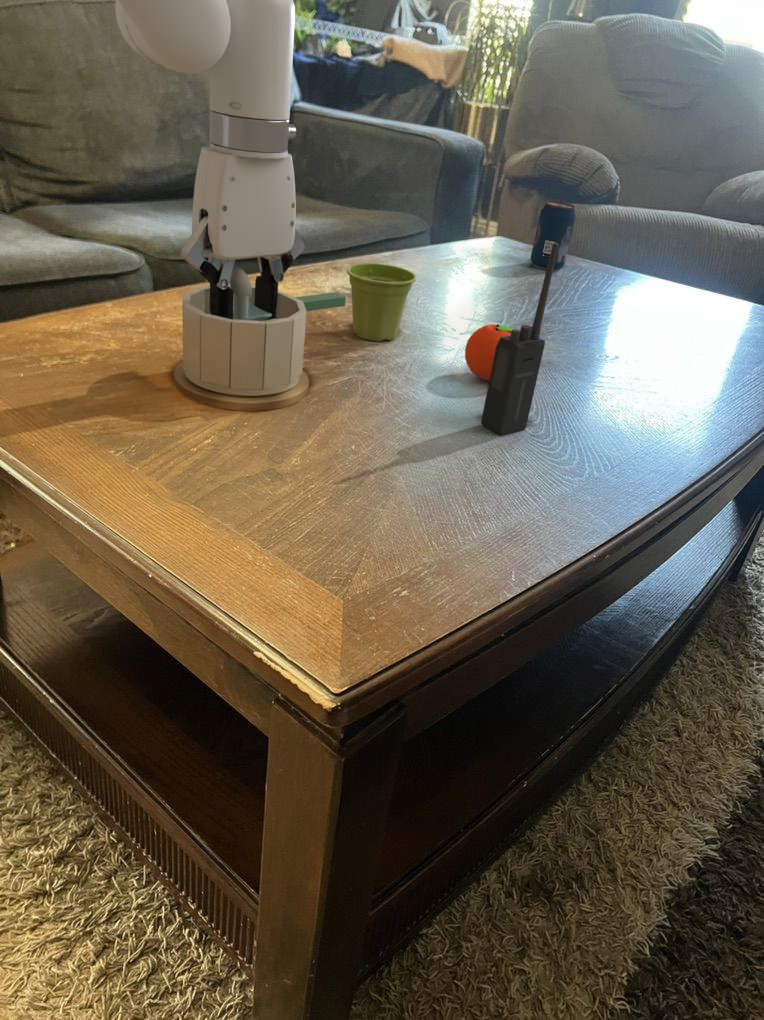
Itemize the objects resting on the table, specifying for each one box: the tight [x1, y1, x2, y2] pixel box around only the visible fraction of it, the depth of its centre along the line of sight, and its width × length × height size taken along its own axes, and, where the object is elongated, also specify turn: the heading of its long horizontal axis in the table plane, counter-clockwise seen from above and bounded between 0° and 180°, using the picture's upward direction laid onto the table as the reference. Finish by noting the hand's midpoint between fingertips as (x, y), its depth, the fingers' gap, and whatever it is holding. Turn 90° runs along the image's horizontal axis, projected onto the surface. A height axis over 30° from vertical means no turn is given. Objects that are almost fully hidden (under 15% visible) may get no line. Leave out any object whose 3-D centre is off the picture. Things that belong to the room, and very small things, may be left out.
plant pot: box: [346, 262, 417, 342], centre depth 106 cm, size 9×9×9 cm
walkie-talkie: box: [480, 243, 559, 437], centre depth 82 cm, size 5×3×20 cm
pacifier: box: [229, 267, 275, 321], centre depth 84 cm, size 7×6×6 cm
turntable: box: [173, 360, 310, 412], centre depth 88 cm, size 15×15×1 cm
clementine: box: [464, 323, 514, 382], centre depth 97 cm, size 8×7×7 cm
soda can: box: [530, 200, 577, 272], centre depth 153 cm, size 7×7×12 cm
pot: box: [181, 283, 347, 396], centre depth 88 cm, size 13×20×8 cm, turn 132°
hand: (243, 317), depth 84 cm, fingers closed on pacifier, 4 cm apart
